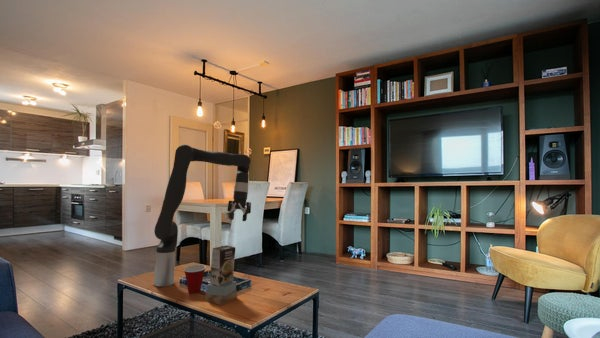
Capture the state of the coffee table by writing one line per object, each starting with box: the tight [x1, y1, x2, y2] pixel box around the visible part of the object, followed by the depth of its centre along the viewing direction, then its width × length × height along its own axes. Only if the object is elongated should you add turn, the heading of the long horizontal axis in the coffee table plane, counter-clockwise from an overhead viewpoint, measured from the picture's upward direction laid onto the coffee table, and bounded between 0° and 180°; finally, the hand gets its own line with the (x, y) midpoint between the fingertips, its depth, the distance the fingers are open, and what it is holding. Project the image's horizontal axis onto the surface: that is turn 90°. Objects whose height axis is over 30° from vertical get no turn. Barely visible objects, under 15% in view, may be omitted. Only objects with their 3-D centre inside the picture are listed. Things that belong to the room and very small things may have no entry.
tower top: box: [206, 280, 237, 297], centre depth 146 cm, size 10×10×4 cm
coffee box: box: [209, 245, 236, 286], centre depth 147 cm, size 9×6×16 cm
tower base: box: [205, 289, 238, 306], centre depth 146 cm, size 10×10×4 cm
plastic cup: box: [182, 263, 207, 294], centre depth 157 cm, size 11×11×12 cm
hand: (237, 220), depth 173 cm, fingers open, 8 cm apart
